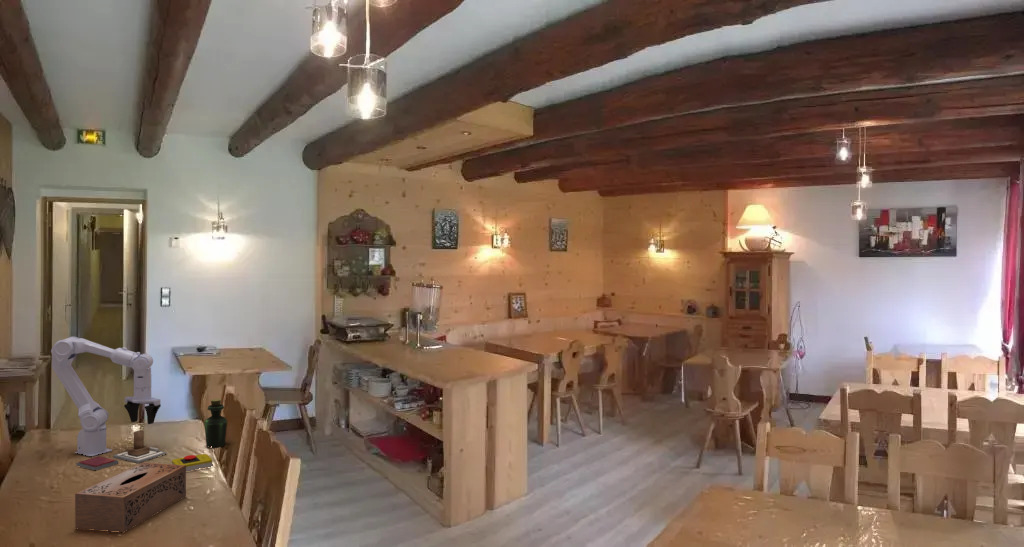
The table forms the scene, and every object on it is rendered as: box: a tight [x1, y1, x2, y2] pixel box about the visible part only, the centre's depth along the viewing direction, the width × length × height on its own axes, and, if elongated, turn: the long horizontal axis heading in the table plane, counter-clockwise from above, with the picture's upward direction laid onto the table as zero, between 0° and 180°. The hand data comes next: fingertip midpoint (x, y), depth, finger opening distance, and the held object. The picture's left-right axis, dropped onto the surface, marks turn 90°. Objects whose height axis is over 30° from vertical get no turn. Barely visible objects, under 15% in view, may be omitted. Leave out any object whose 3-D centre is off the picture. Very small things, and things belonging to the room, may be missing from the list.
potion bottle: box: [203, 398, 228, 449], centre depth 243 cm, size 8×8×18 cm
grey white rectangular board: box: [112, 446, 168, 464], centre depth 230 cm, size 14×11×2 cm
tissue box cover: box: [74, 462, 187, 532], centre depth 182 cm, size 26×14×10 cm, turn 172°
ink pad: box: [75, 455, 119, 471], centre depth 220 cm, size 10×8×2 cm
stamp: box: [127, 430, 151, 457], centre depth 230 cm, size 5×5×8 cm
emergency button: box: [171, 453, 213, 471], centre depth 220 cm, size 9×4×15 cm
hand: (142, 422), depth 237 cm, fingers open, 7 cm apart
